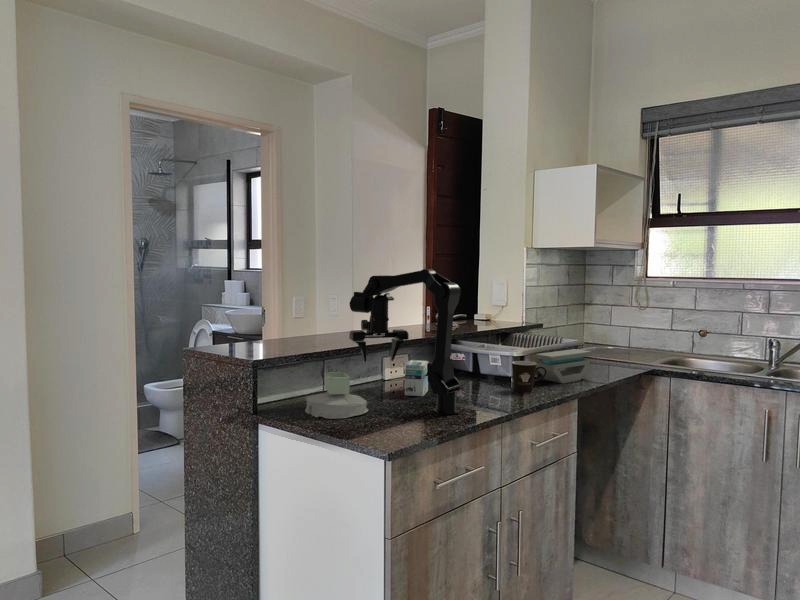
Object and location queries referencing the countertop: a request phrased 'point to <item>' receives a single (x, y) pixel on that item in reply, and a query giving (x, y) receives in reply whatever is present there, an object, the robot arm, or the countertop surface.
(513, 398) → the countertop surface
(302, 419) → the countertop surface
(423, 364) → the light bulb box
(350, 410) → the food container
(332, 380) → the crate
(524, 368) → the coffee mug
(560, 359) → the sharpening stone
